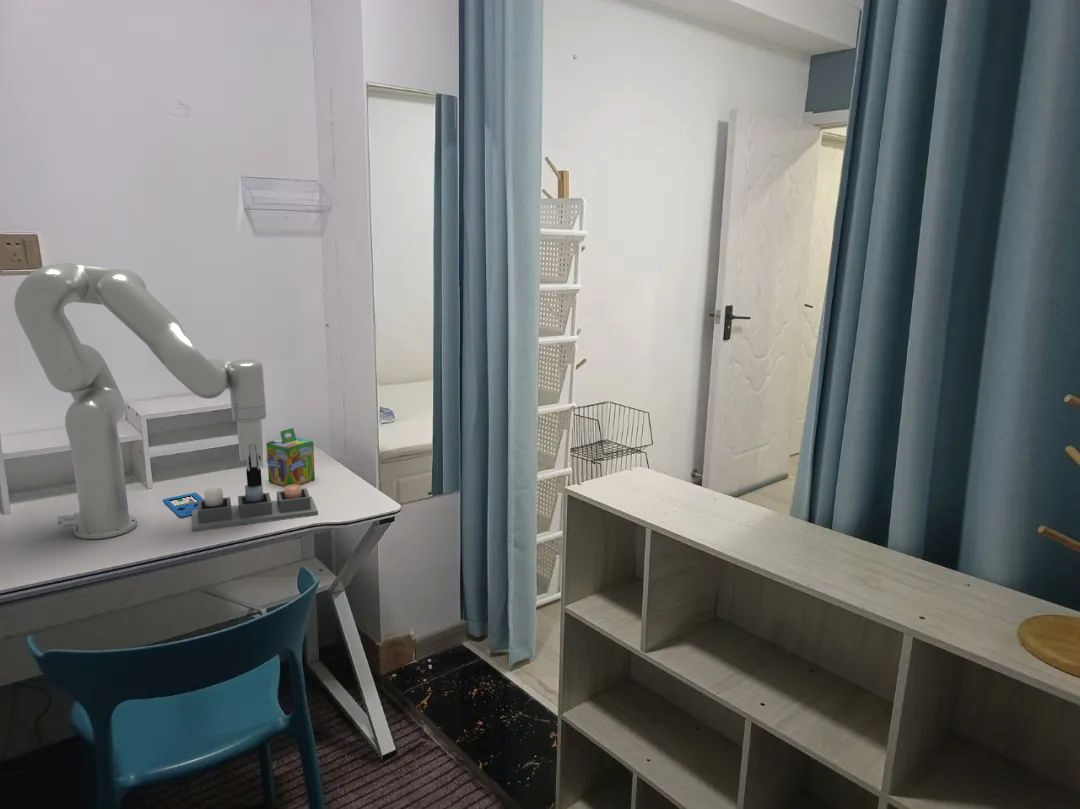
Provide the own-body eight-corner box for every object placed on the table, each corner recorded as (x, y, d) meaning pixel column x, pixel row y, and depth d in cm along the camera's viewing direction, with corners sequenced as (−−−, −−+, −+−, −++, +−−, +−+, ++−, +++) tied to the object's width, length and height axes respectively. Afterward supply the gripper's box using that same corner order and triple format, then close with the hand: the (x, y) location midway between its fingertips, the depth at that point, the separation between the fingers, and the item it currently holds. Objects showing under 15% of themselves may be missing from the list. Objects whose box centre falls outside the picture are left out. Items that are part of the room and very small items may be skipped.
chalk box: (290, 489, 195) (287, 436, 191) (267, 482, 199) (264, 431, 196) (316, 479, 203) (314, 429, 199) (293, 473, 207) (291, 424, 204)
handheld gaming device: (180, 515, 173) (161, 498, 184) (180, 520, 173) (162, 502, 184) (215, 507, 179) (195, 491, 189) (216, 512, 179) (196, 495, 189)
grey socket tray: (192, 531, 166) (191, 515, 165) (192, 514, 176) (191, 498, 175) (317, 514, 178) (317, 499, 177) (311, 499, 188) (310, 485, 187)
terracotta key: (285, 502, 177) (285, 490, 177) (284, 497, 181) (283, 485, 180) (302, 500, 179) (302, 488, 178) (300, 495, 183) (300, 483, 182)
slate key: (246, 502, 173) (245, 489, 173) (245, 496, 177) (244, 484, 176) (263, 500, 175) (263, 487, 174) (262, 494, 179) (261, 482, 178)
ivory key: (205, 507, 170) (204, 494, 169) (204, 501, 173) (203, 488, 172) (223, 505, 171) (222, 492, 171) (223, 499, 175) (222, 486, 174)
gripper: (230, 406, 176) (236, 477, 180) (233, 421, 163) (239, 497, 167) (263, 403, 179) (268, 473, 183) (268, 418, 166) (273, 493, 170)
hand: (254, 484), depth 175 cm, fingers closed
